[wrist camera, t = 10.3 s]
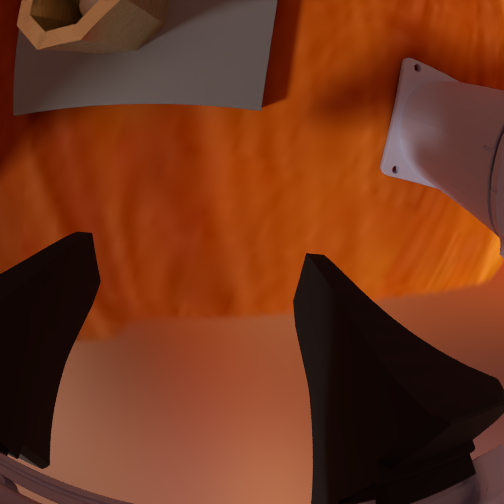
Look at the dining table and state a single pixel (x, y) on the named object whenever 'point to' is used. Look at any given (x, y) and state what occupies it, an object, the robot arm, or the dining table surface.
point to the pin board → (158, 62)
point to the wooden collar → (91, 24)
